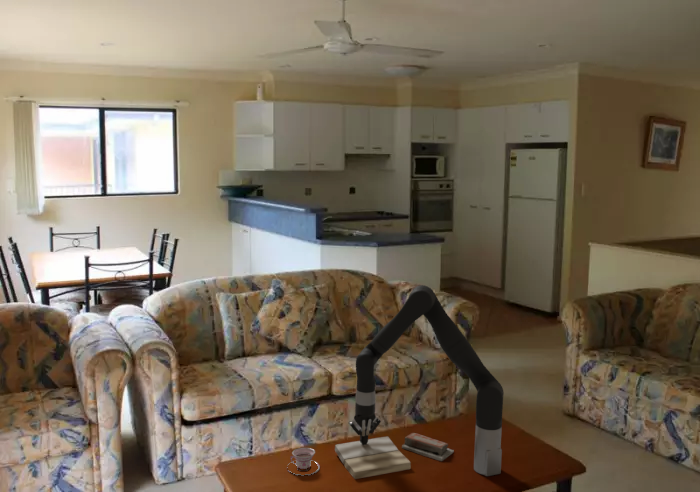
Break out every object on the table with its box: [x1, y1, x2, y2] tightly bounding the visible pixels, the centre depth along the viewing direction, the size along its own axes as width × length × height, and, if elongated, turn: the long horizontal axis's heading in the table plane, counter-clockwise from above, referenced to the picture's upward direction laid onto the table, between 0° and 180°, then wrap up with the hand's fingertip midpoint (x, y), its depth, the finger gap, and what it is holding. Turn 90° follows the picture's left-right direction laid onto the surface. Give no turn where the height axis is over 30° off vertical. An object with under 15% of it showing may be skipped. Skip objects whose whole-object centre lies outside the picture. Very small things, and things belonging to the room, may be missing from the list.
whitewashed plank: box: [334, 436, 399, 466], centre depth 256 cm, size 10×22×2 cm, turn 112°
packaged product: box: [401, 432, 455, 462], centre depth 261 cm, size 18×5×10 cm
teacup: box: [286, 447, 321, 477], centre depth 245 cm, size 12×12×6 cm
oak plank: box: [344, 450, 412, 480], centre depth 246 cm, size 10×22×3 cm, turn 112°
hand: (363, 443), depth 257 cm, fingers closed
